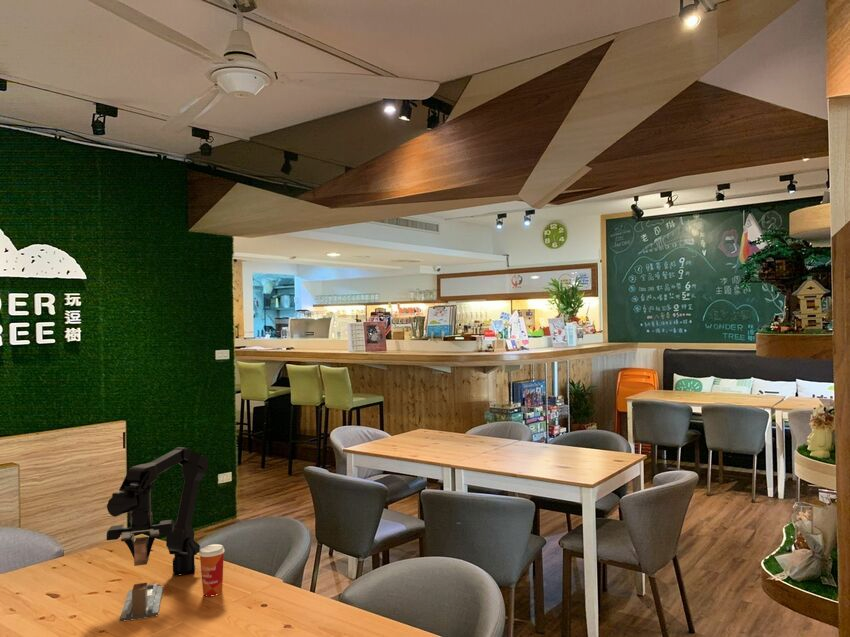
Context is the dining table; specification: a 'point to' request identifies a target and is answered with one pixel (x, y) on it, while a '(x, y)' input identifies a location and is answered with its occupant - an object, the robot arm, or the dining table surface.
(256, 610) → the dining table surface
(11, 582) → the dining table surface
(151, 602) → the rail
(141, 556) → the tan wooden block
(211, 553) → the paper cup
